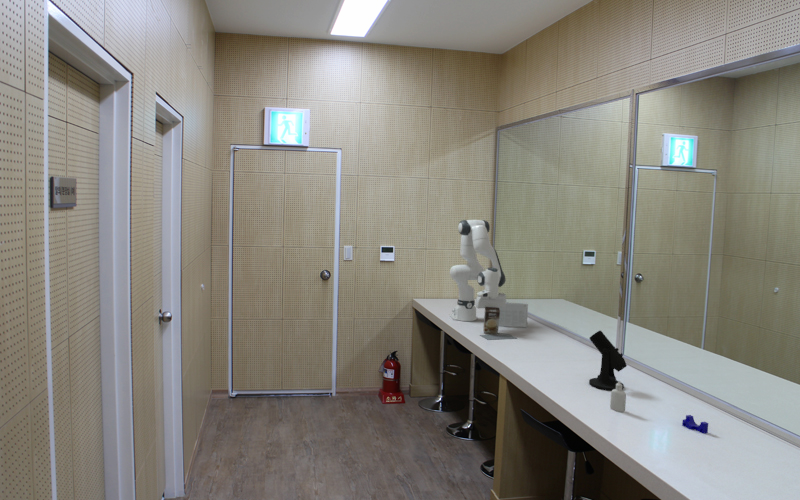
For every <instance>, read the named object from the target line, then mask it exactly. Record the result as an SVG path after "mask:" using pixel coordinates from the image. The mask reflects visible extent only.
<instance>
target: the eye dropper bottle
mask: <svg viewBox="0 0 800 500" xmlns="http://www.w3.org/2000/svg"><path fill="white" fill-rule="evenodd" d="M617 381H618V383H617V384H616V389H613V390H612V391H610V404H609V405H610V406H609V408H610V410H613V411H614V412H618V413H625V412H626V400H627V393H626V392H625V391H624V390H622V384H623V383H622V382H621V381H620V380H617ZM621 383H622V384H621Z"/></svg>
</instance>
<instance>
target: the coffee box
mask: <svg viewBox="0 0 800 500" xmlns="http://www.w3.org/2000/svg"><path fill="white" fill-rule="evenodd" d="M499 316H500V309H499V308H496V307H485V308H484V315H483V327H482V328H483V334H486V335H492V334H499V327H500V326H499Z"/></svg>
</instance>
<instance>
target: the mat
mask: <svg viewBox="0 0 800 500" xmlns="http://www.w3.org/2000/svg"><path fill="white" fill-rule="evenodd" d="M479 336H480V337H481V338H484V339H485V340H487V341H492V340H493V341H494V340H513V339H514V340H515V339H518V337H516V336H514V335H513V334H510V333H500V334H499V333H498V334H480V335H479Z"/></svg>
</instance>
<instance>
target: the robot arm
mask: <svg viewBox="0 0 800 500" xmlns="http://www.w3.org/2000/svg"><path fill="white" fill-rule="evenodd" d="M490 229H491V228H490V223H489V221H488V220H485V219H484V220H483V219H467V220H466V219H463V220H461V221H459V222H458V226H457V231H458V233H459V234H460V235H461V237H460V247H459V248H460V251H459V255H460V257H461V258H462V259H463V260H465V261H466V263H467V264H456V265H455V264H454V265H453V266H451V268H450V269H449V276H450V278H451V279H452V280H454V282H455V283H456V284H457V288H458V299H457V302H456V305H455V306H453V308H452V310H451V312H452V313H450V314H449V317H450V318H451V319H452V320H455V321H459V322H460V321H462V322H474V321H476V320H478V319H479V317H478V316H477V309H485V307H496V308H505V307H506V302H507V295H506V294H505V293H504V292H502V293H499V292H500V288H501V287H502V286H504V284H505V283H506V280H507V279H506V276H505V275H506V274H505V273H504V271H503V267H502V266H501V261H500V259H499V255H498V253H497V250H496V249H495V247H493V246H492V244H491V242H490V241H491V240H490V237H489V232H490ZM477 254H479V255H480V256H483V257H486V258H488V259H489V260H490V262H491V265H492V267H487V268H486V270H485V268H484V266H483V265H482V264H481V263H480V262H479V260H478V258H477ZM468 281H477V283H478V285H479V286H480V287H484V289H483V290H480V291H478V292H477V294H476V295H477V296H476V298H475V288H474V287H473V286H472V285H470V284H469V283H468Z"/></svg>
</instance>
